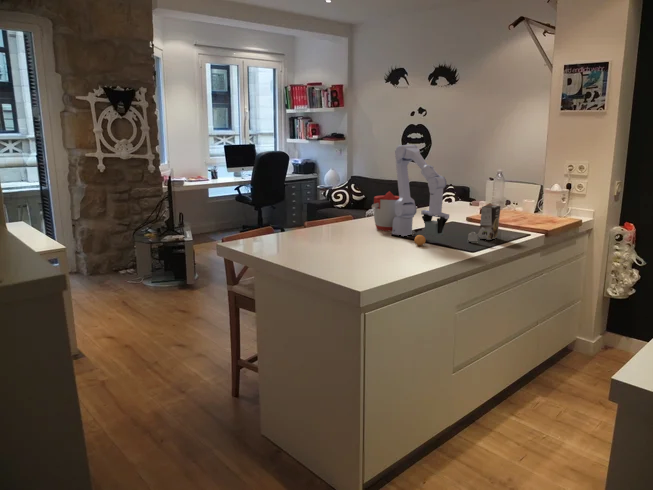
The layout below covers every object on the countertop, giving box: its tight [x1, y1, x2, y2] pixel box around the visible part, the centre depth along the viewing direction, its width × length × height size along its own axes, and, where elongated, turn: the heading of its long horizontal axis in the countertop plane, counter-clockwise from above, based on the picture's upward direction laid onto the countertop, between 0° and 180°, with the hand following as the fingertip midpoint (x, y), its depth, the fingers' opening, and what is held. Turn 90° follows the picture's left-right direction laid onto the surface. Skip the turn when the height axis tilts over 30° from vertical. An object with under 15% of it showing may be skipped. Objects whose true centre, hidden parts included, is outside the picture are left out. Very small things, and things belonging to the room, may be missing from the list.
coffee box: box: [478, 204, 501, 239], centre depth 248 cm, size 9×6×16 cm
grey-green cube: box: [423, 219, 445, 238], centre depth 238 cm, size 6×6×6 cm
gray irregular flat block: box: [467, 227, 485, 241], centre depth 238 cm, size 7×2×8 cm, turn 51°
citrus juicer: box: [371, 190, 405, 232], centre depth 266 cm, size 16×17×20 cm
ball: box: [414, 234, 427, 247], centre depth 232 cm, size 5×5×5 cm
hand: (433, 231), depth 238 cm, fingers closed on grey-green cube, 6 cm apart
